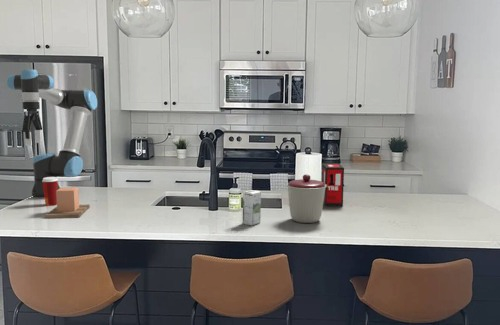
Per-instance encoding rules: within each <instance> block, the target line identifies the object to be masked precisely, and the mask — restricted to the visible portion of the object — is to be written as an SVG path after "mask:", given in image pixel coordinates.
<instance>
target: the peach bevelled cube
mask: <svg viewBox="0 0 500 325" xmlns="http://www.w3.org/2000/svg"><path fill="white" fill-rule="evenodd" d="M56 197H57V205H56V207H57V212H66V211H76V210H77V209H78V208H79V205H80V196H79V187H76V186H75V187H74V186H73V187H60V189H58V190H57V191H56Z"/></svg>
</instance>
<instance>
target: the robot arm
mask: <svg viewBox="0 0 500 325" xmlns="http://www.w3.org/2000/svg"><path fill="white" fill-rule="evenodd" d="M38 73H39V72H38V70H37V69H32V68H31V69H27V68H25V69H24V68H23V69H21V70H20V74H11V75H9V76H8V77H7V79H6V85H7V87H8V88H9V89H10V90H15V91H17V90H19V91H21V94H20V96H21V97H22V109H23V110H26V111H23V121H22V122H23V123H22V130H21V131H22V133H24V144H25V147H26V146H27V147H28V146H33V141H32V131H31V129H32V125H33V127H34V142H35V144H40V143H42V134H41V133H42V130H43V126H42V122H41V118H40V111H39V110H40V108H41V107H40V106H41V105H40V102H39V101H40V99H42V100H45V101H48V102H49V103H50V104H51V105H54V106H56V107H58V108H61V109H65V110H70V111H71V117H70V120H69V123H68V128H67V131H66V132H67V133H66V137H65V139H64V143H63V148H62V149H61V150H59V151H58V155H56V153H55V152H54V153H53V152H52V153H44V154H37V155H35V156H33V159H32V161H33V162H32V165H33V178H34V182H33V186H32V189H31V196H32V197H37V198H43V197H44V198H45V196H44V188H43V181H42V180H43V178H46V177H57V178H59V177H60V178H64V177H65V178H76V177H78V176H79V175H80V174H81V172H82V170H83V167H84V161H83V159H82V156H81V153H80V149H81V145H82V140H83V136H84V133H85V128H86V124H87V119H88V117H89V116H91V115H92V111H94V110H96V109H97V107H98V98H97V96H96V93H95V92H94V91H93V90H90V89H89V90H87V89H84V90H83V89H79V90H78V89H60V88H53V87H54V86H55V85H54V84H55V81H54V78H53V77H52V76H51V75H48V74H38ZM60 188H61V187H60V185H59V184H58V189H60Z"/></svg>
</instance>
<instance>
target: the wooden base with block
mask: <svg viewBox="0 0 500 325" xmlns="http://www.w3.org/2000/svg"><path fill="white" fill-rule="evenodd" d="M89 209H90V203H89V204H88V203H87V204H79V208H78V209H77V210H76V211H66V212H57V206H56V207H54V208H53V209H52V210H50V211H49V212H48V213H46V214H45V215H44V216H45V219H64V218H65V219H66V218H67V219H69V218H73V219H74V218H81V216H83V214H84V213H86V212H87V210H89Z"/></svg>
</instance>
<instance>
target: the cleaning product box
mask: <svg viewBox="0 0 500 325" xmlns="http://www.w3.org/2000/svg"><path fill="white" fill-rule="evenodd" d="M344 177H345V167H343V166H342V165H341V164H340V163H333V162H331V163H330V162H329V163H327V162H325V163H323V162H322V163H321V182H323V183H324V184H326V185H327V187H326V188H325V194H324V201H323V206H325V207H343V206H344V182H345V180H344V179H345V178H344Z"/></svg>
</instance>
